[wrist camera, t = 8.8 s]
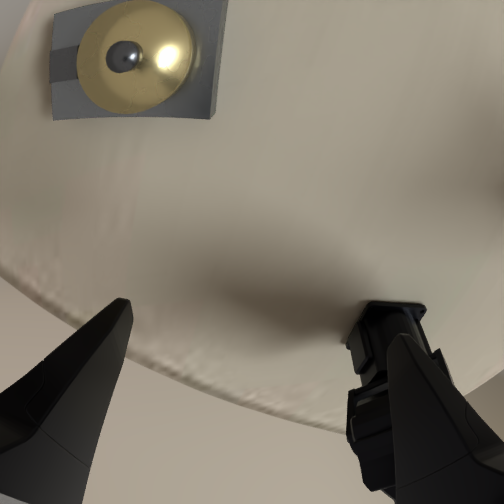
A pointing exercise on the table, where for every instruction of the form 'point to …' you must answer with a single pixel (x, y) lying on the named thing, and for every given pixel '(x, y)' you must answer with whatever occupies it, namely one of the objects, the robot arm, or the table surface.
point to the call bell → (137, 59)
